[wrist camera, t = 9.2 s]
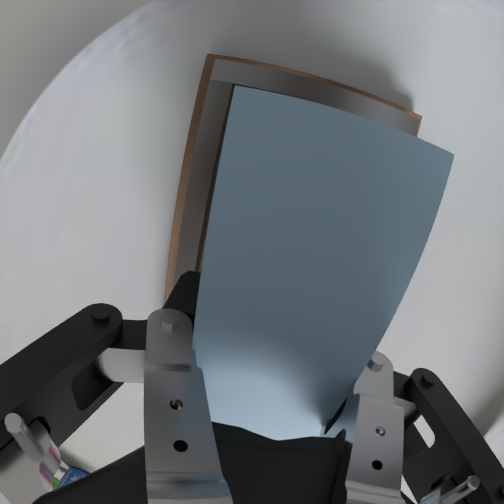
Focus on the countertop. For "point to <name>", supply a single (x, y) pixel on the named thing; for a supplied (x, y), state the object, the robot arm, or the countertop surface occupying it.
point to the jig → (213, 131)
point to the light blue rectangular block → (306, 257)
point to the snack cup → (68, 477)
